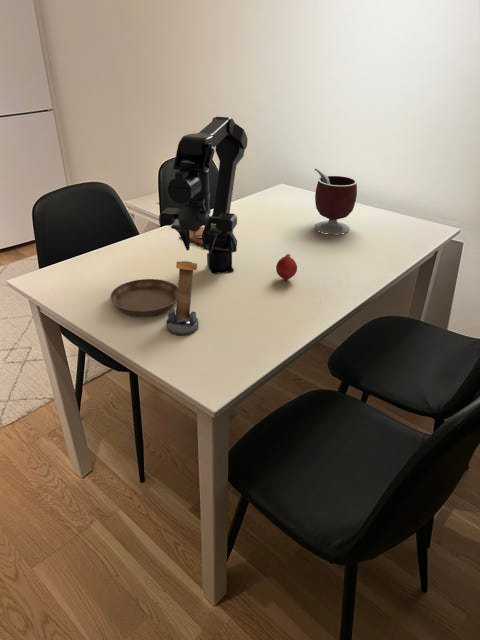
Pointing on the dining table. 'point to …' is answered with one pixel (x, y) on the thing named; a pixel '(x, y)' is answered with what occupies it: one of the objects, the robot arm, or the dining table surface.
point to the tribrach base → (181, 324)
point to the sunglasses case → (196, 236)
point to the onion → (286, 267)
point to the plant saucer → (145, 297)
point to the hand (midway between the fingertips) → (199, 251)
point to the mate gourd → (334, 201)
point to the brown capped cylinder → (184, 288)
